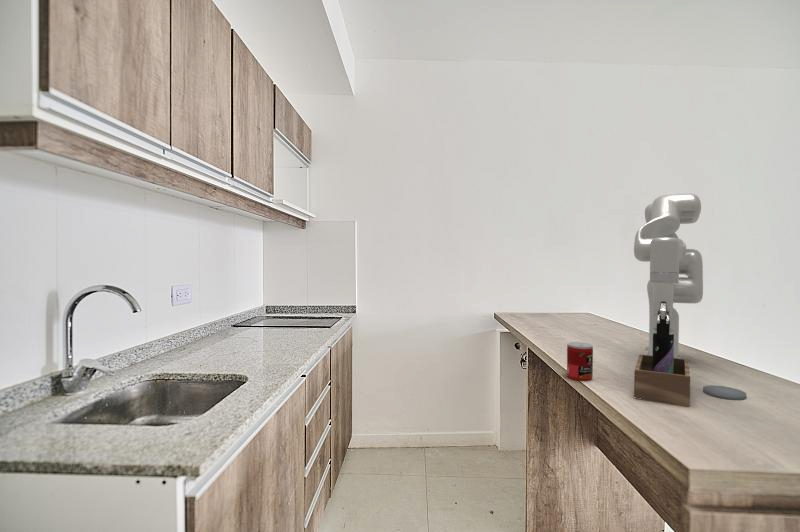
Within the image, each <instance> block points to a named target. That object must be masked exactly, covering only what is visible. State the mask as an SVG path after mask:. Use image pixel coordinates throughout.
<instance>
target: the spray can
mask: <svg viewBox="0 0 800 532" xmlns="http://www.w3.org/2000/svg"><path fill="white" fill-rule="evenodd" d="M673 331H674V330H673V329H671V328H670V327H669V338H664V337H657V327H656V328H653V361H652V371H654V372H662V373H670V374H673V360H674V332H673Z"/></svg>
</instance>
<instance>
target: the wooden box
mask: <svg viewBox="0 0 800 532" xmlns="http://www.w3.org/2000/svg"><path fill="white" fill-rule="evenodd" d="M652 361H653V356H651V355H647V354H639V356H638V359H637V361H636V365H635V367H634V375H633V376H634V378H633V379H634V380H633V381H634V382H633V387H634V389H633V398H634V397H636V398H641V399H640V400H642V399H646V400H645V401H649V400H651V401H650V402H655V401H657V402H656V403H662V404H668V403H669V404H668V405H676V406H682V407H689V408H690V407H691V404H690V403H691V401H690V400H691V372H690V366H689V365H690V364H689V359H687V358H682V359H679V358H674V360H673V374H670V373H662V372H654V371H652ZM636 398H635V399H636Z"/></svg>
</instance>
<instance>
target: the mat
mask: <svg viewBox="0 0 800 532" xmlns="http://www.w3.org/2000/svg"><path fill="white" fill-rule="evenodd" d="M702 391H703V393H704V394H705V395H708V396H710V397H713V398H717V399H722V400H729V401H730V400H731V401H744V400H747V393H746V392H745V391H743V390H741V389H737V388H734V387H730V386H724V385H704V386H703V387H702Z"/></svg>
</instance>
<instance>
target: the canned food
mask: <svg viewBox="0 0 800 532" xmlns="http://www.w3.org/2000/svg"><path fill="white" fill-rule="evenodd" d="M566 347H567V348H566V374H567V377H568V378H569V379H571V380H575V381H579V382H588V381H587V380H589V381H591V380H593V379H592V378H593V370H594V368H593V366H594V364H593V363H594V357H593V356H594V349H593V348H594V346H593V344H591V343H588V342H583V341H571V342H570V341H569V342H567V345H566Z"/></svg>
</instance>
